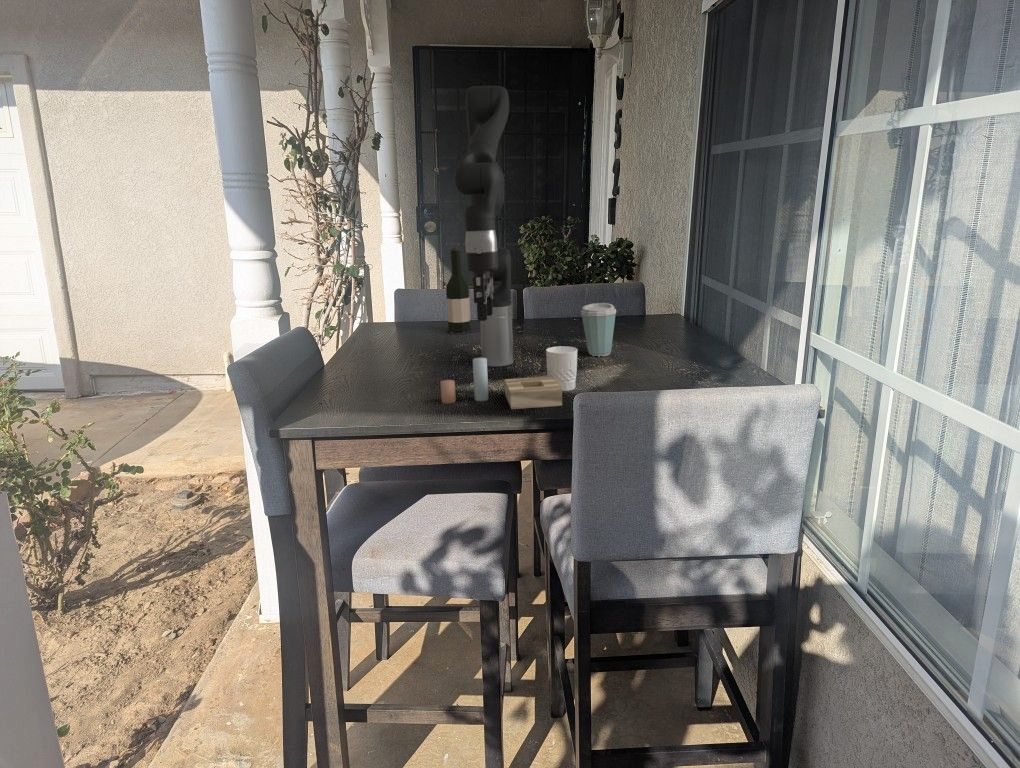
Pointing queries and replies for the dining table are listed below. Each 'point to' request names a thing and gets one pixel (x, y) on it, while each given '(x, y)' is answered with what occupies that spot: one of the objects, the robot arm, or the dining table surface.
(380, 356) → the dining table surface
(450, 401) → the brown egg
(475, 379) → the long dowel
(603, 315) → the disposable coffee cup
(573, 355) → the white cup
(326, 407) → the dining table surface
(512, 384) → the hole block
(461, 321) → the wine bottle
